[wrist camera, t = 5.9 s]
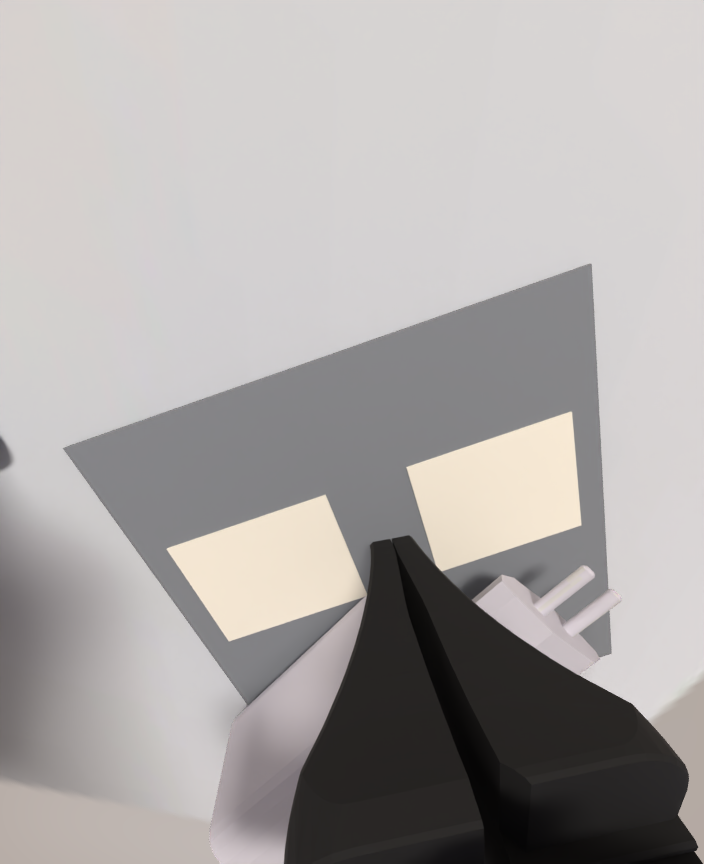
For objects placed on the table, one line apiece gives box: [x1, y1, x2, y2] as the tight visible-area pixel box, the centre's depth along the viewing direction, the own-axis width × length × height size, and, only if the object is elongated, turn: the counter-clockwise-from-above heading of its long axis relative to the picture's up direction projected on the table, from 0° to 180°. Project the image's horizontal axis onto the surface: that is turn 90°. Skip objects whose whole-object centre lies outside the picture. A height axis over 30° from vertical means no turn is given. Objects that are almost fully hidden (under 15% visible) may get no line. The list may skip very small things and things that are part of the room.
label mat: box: [63, 264, 612, 706], centre depth 13 cm, size 18×17×1 cm
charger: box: [209, 565, 622, 864], centre depth 12 cm, size 5×9×15 cm
